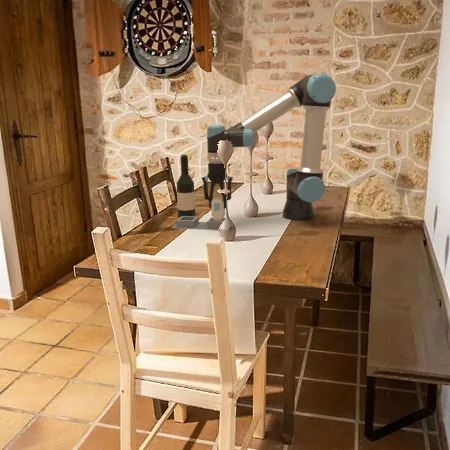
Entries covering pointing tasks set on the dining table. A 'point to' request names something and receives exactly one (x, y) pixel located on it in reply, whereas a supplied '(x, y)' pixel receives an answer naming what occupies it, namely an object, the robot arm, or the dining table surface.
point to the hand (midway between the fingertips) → (218, 215)
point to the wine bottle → (185, 191)
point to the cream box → (217, 209)
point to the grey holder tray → (196, 223)
